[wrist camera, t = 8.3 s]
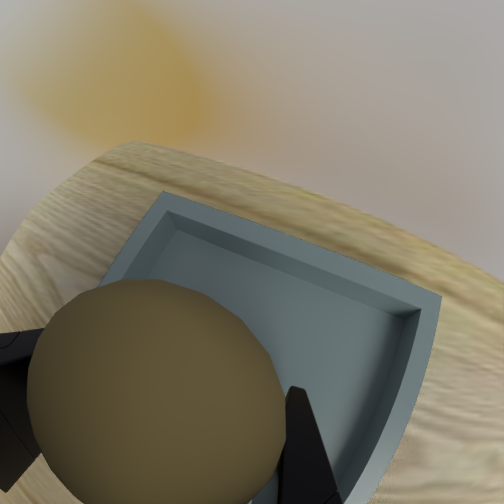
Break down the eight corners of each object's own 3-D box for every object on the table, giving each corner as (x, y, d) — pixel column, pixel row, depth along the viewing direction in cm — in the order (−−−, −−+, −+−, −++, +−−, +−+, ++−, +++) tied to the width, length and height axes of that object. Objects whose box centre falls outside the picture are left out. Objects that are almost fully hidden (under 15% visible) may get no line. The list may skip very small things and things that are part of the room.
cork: (177, 334, 14) (37, 217, 5) (289, 350, 14) (343, 241, 4) (158, 438, 12) (-14, 472, 2) (274, 461, 11) (284, 603, 1)
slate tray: (301, 556, 8) (305, 580, 5) (60, 426, 13) (32, 426, 10) (418, 311, 15) (441, 295, 13) (175, 217, 20) (163, 191, 17)
